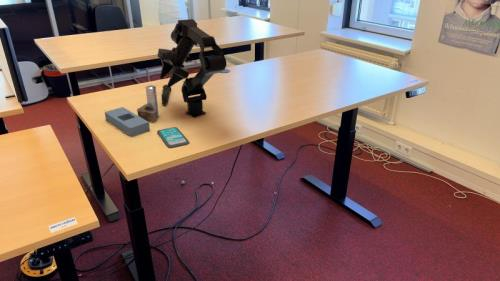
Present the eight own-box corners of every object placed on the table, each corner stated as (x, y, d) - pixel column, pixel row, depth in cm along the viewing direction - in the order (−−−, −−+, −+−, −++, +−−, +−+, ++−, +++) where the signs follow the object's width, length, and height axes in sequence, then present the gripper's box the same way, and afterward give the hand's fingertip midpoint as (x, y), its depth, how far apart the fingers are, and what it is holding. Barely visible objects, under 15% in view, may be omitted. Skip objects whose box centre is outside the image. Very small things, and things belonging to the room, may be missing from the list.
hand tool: (163, 92, 185) (162, 83, 182) (171, 91, 185) (170, 82, 183) (157, 107, 168) (156, 97, 166) (167, 107, 168) (166, 97, 166)
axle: (160, 116, 158) (157, 87, 152) (152, 119, 156) (149, 89, 150) (155, 113, 161) (152, 84, 155) (147, 116, 158) (143, 86, 152)
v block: (151, 111, 163) (150, 102, 161) (157, 121, 154) (156, 112, 152) (136, 113, 160) (135, 105, 158) (141, 124, 151) (140, 115, 149)
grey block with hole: (149, 130, 147) (149, 122, 145) (131, 136, 142) (130, 128, 140) (123, 114, 159) (122, 106, 158) (105, 120, 154) (104, 112, 152)
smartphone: (168, 147, 134) (155, 130, 146) (168, 149, 135) (155, 132, 146) (190, 142, 138) (177, 126, 149) (191, 144, 138) (177, 128, 150)
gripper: (159, 33, 155) (141, 66, 159) (174, 49, 142) (154, 84, 145) (181, 45, 162) (163, 76, 166) (197, 61, 149) (178, 94, 153)
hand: (164, 82), depth 157 cm, fingers open, 9 cm apart
